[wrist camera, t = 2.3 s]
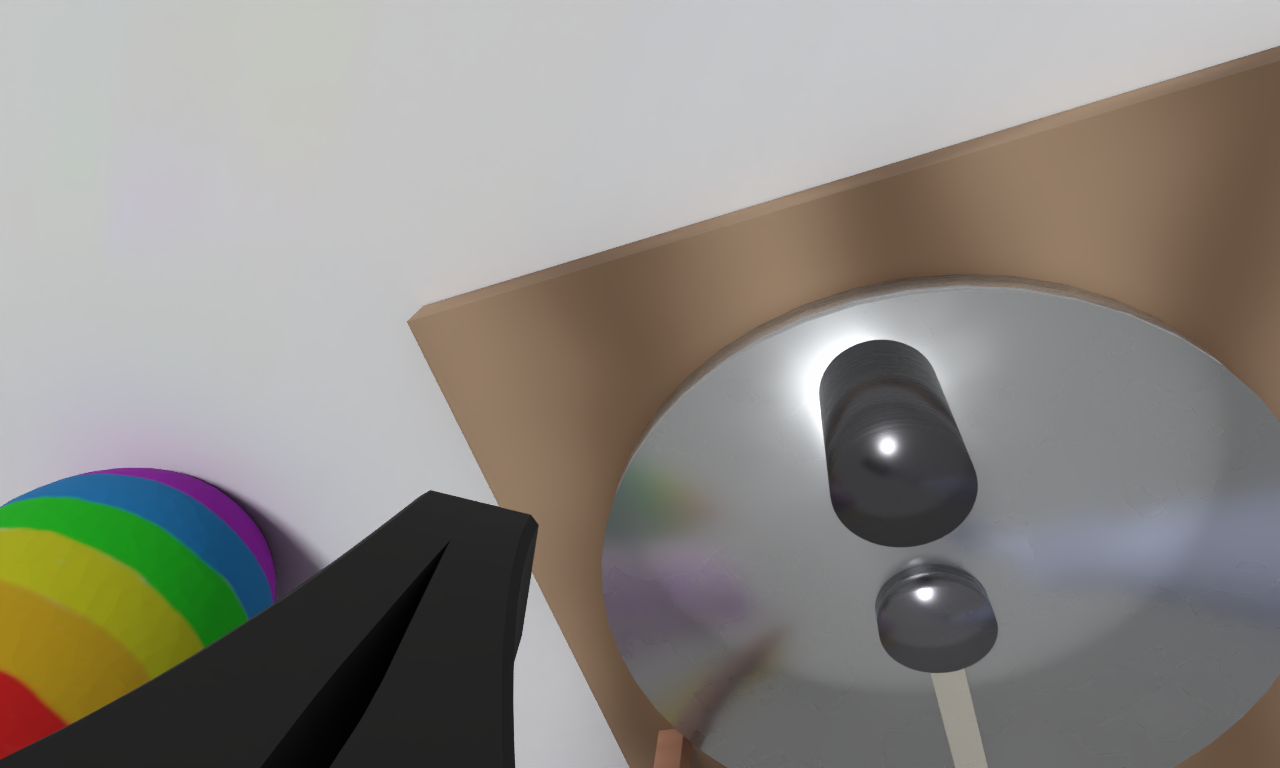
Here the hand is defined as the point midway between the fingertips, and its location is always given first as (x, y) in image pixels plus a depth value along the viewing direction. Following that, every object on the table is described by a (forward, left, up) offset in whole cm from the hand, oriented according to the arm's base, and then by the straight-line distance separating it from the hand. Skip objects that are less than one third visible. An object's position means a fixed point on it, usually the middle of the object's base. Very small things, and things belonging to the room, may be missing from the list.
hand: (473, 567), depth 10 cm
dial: (-5, +10, -9) cm, 14 cm away
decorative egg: (+16, +4, -11) cm, 20 cm away
